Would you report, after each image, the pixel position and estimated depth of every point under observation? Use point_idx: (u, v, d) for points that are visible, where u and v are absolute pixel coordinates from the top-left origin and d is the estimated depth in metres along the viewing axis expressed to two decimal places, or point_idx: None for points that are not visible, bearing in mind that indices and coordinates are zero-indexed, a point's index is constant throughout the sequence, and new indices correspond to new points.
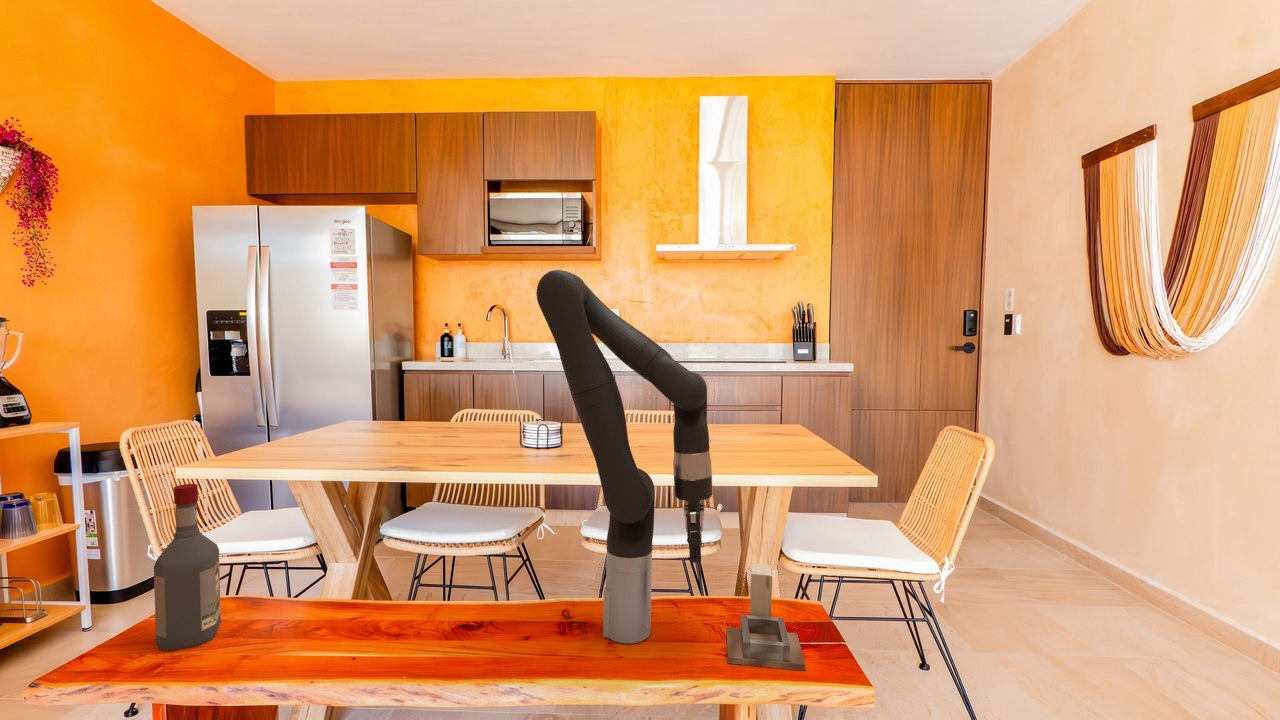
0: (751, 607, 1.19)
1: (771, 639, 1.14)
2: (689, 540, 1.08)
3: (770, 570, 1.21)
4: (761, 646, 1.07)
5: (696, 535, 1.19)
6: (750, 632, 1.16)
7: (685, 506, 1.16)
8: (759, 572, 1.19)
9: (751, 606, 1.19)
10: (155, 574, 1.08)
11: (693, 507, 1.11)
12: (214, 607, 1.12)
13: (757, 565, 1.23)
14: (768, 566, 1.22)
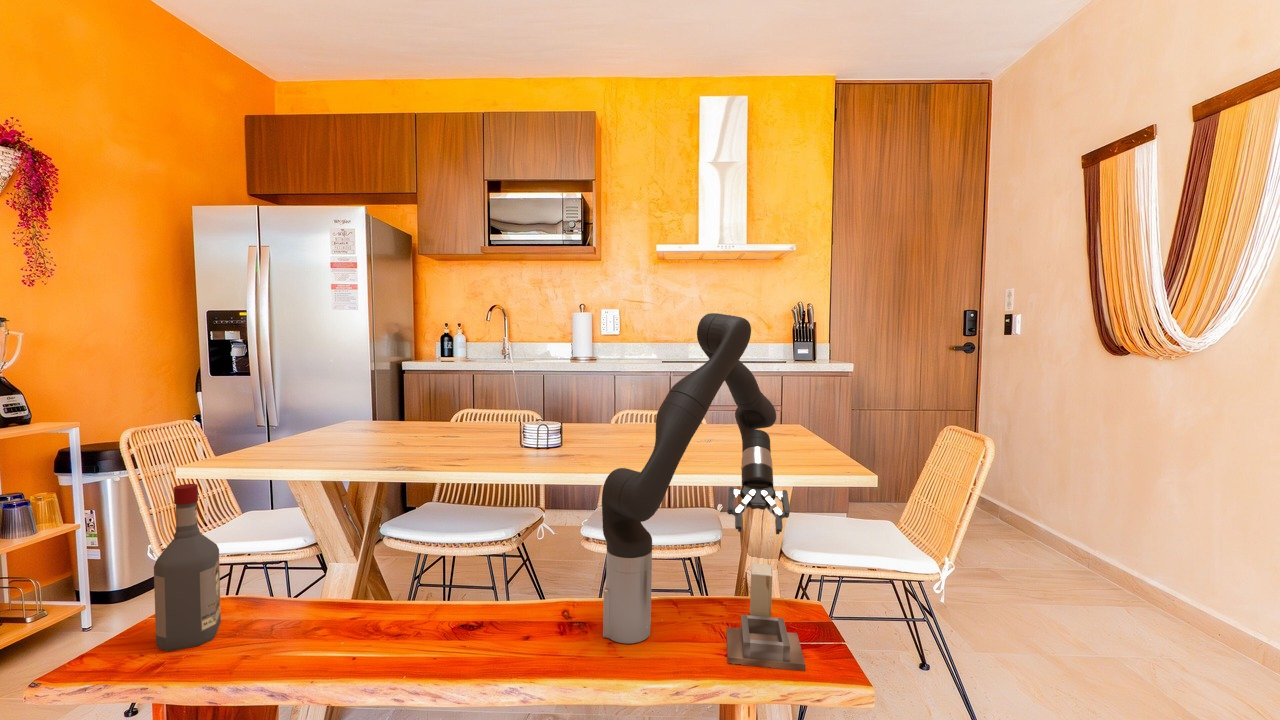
0: (751, 607, 1.19)
1: (771, 639, 1.14)
2: None
3: (770, 570, 1.21)
4: (761, 646, 1.07)
5: None
6: (750, 632, 1.16)
7: None
8: (760, 572, 1.19)
9: (751, 606, 1.19)
10: (155, 574, 1.08)
11: None
12: (214, 607, 1.12)
13: (757, 565, 1.23)
14: (768, 566, 1.22)
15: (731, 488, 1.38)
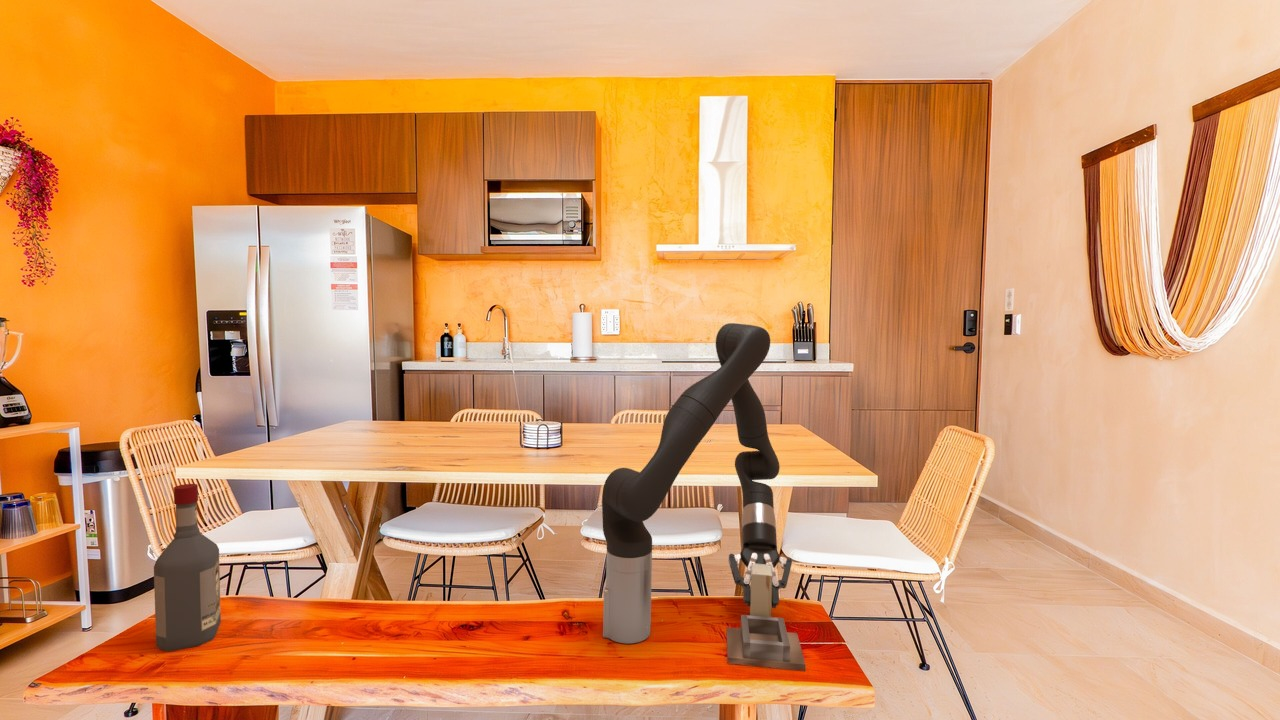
0: (751, 607, 1.19)
1: (771, 639, 1.14)
2: None
3: (770, 570, 1.21)
4: (761, 646, 1.07)
5: None
6: (750, 632, 1.16)
7: None
8: (760, 572, 1.19)
9: (751, 606, 1.19)
10: (155, 574, 1.07)
11: None
12: (214, 607, 1.12)
13: (757, 565, 1.23)
14: (768, 566, 1.22)
15: (731, 555, 1.26)
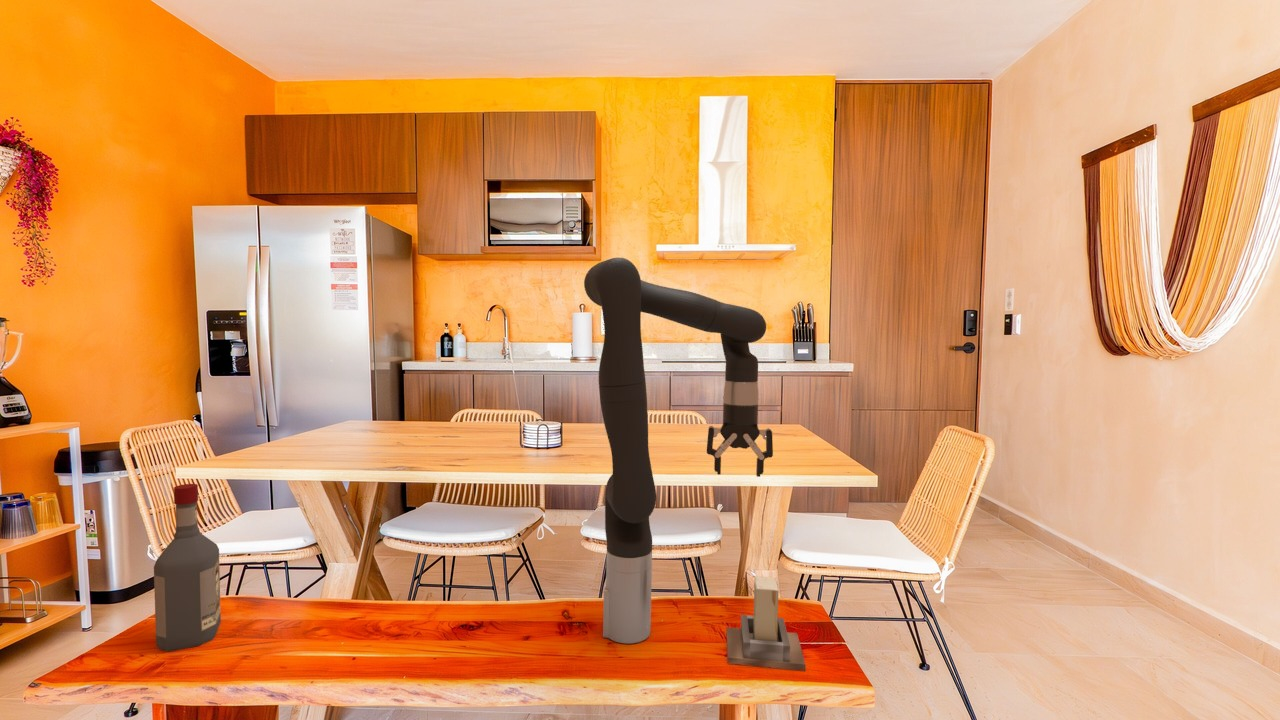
0: (756, 625, 1.09)
1: None
2: None
3: (776, 584, 1.11)
4: (761, 646, 1.07)
5: None
6: (750, 632, 1.16)
7: (736, 434, 1.25)
8: (765, 587, 1.10)
9: (756, 623, 1.09)
10: (155, 574, 1.08)
11: None
12: (214, 607, 1.12)
13: (761, 579, 1.13)
14: (773, 579, 1.13)
15: (711, 429, 1.26)
